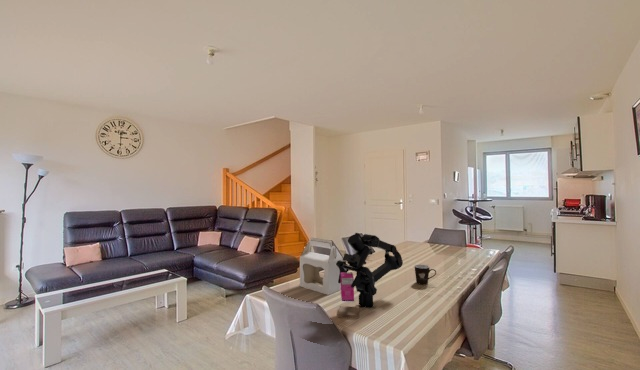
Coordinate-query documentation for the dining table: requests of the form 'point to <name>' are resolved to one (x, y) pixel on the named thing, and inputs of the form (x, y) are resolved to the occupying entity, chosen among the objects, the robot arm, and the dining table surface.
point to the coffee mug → (422, 274)
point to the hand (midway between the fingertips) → (345, 285)
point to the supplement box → (347, 286)
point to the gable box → (315, 260)
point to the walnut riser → (348, 312)
